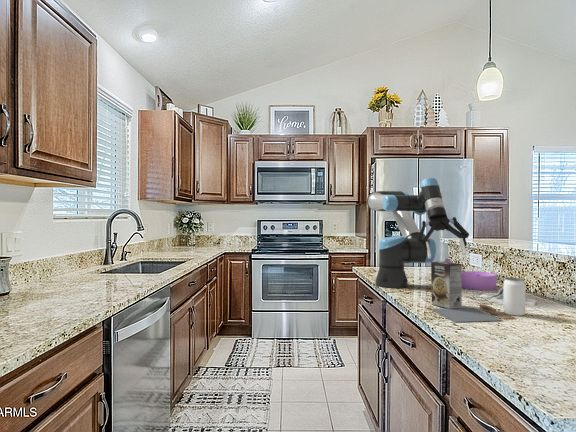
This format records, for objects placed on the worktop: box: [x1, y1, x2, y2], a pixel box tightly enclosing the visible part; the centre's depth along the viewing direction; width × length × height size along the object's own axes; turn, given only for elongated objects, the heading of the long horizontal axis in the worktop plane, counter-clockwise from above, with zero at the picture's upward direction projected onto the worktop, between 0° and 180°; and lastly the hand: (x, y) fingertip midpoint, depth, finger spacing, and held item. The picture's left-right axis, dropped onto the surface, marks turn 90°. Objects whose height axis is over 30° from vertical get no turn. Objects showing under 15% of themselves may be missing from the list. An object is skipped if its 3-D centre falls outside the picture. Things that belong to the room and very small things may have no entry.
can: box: [502, 277, 526, 317], centre depth 131 cm, size 6×6×12 cm
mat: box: [431, 307, 503, 324], centre depth 129 cm, size 16×16×1 cm
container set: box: [443, 258, 498, 291], centre depth 178 cm, size 25×15×13 cm, turn 83°
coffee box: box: [430, 261, 463, 309], centre depth 141 cm, size 9×6×16 cm
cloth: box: [478, 287, 536, 307], centre depth 153 cm, size 22×19×6 cm
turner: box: [479, 304, 516, 320], centre depth 132 cm, size 15×4×1 cm, turn 6°
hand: (447, 255), depth 154 cm, fingers open, 13 cm apart
